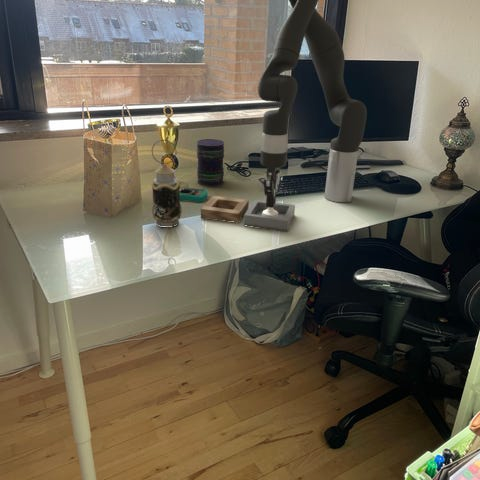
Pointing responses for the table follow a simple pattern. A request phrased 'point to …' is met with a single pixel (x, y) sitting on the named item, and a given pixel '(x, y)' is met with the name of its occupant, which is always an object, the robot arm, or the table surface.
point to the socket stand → (225, 208)
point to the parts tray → (274, 223)
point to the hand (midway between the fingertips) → (270, 205)
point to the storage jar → (210, 162)
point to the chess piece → (270, 212)
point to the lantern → (166, 195)
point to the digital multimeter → (193, 194)
